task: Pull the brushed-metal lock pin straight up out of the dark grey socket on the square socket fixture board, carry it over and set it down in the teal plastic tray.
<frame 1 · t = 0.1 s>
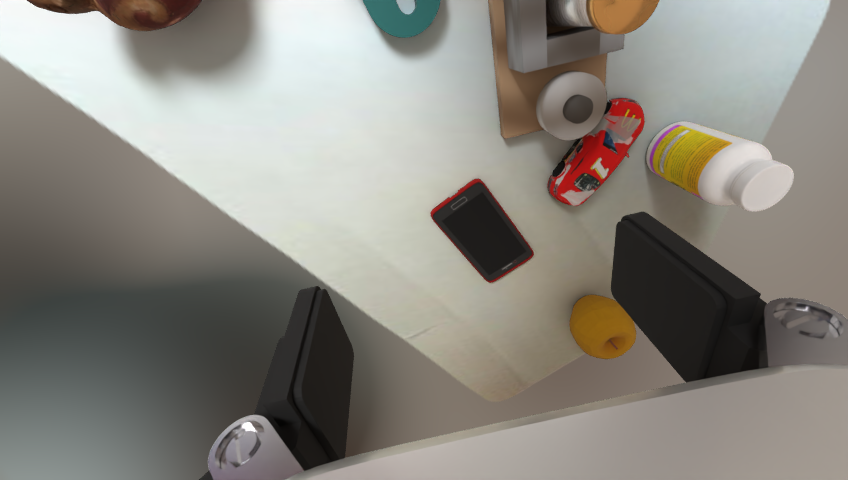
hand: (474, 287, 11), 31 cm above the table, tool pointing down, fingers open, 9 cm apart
race car: (588, 150, 43), on the table
apple: (584, 304, 56), on the table
lock pin: (551, 4, 33), point 1 cm above the table, touching square socket fixture board
supplement bottle: (669, 147, 44), on the table
cell phone: (483, 231, 48), on the table
square socket fixture board: (546, 39, 36), on the table
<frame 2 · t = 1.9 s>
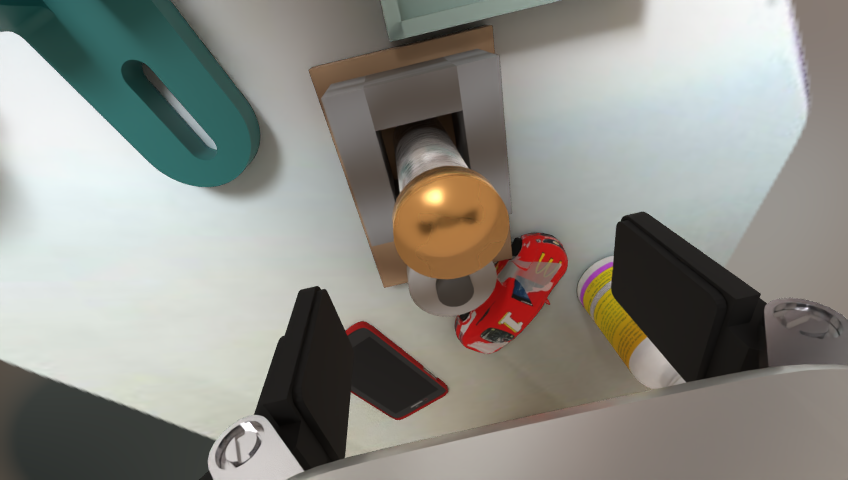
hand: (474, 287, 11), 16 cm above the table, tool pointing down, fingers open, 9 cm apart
race car: (504, 284, 34), on the table
bracket: (133, 38, 21), on the table
lock pin: (419, 139, 24), point 2 cm above the table, touching square socket fixture board
supplement bottle: (607, 278, 35), on the table
cell phone: (382, 369, 39), on the table
square socket fixture board: (425, 172, 27), on the table
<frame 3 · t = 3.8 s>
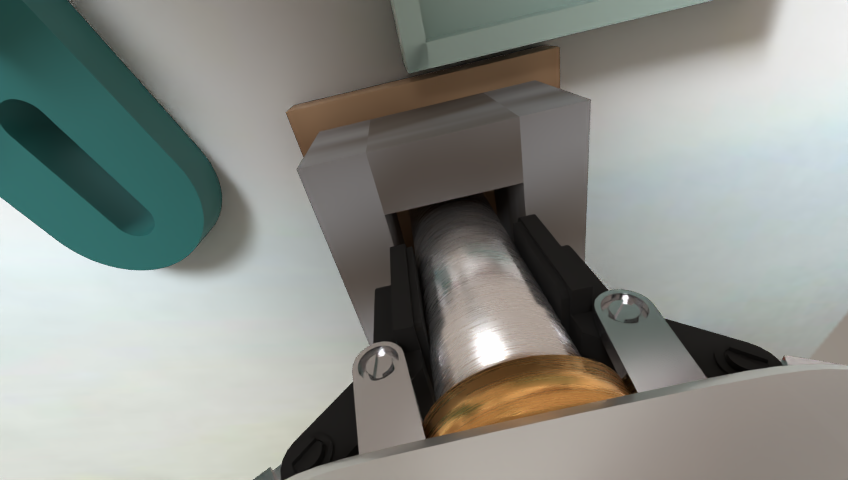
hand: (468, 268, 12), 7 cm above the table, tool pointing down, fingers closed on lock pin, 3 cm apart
bracket: (27, 64, 14), on the table
lock pin: (445, 203, 17), point 2 cm above the table, touching gripper, square socket fixture board
square socket fixture board: (450, 240, 20), on the table
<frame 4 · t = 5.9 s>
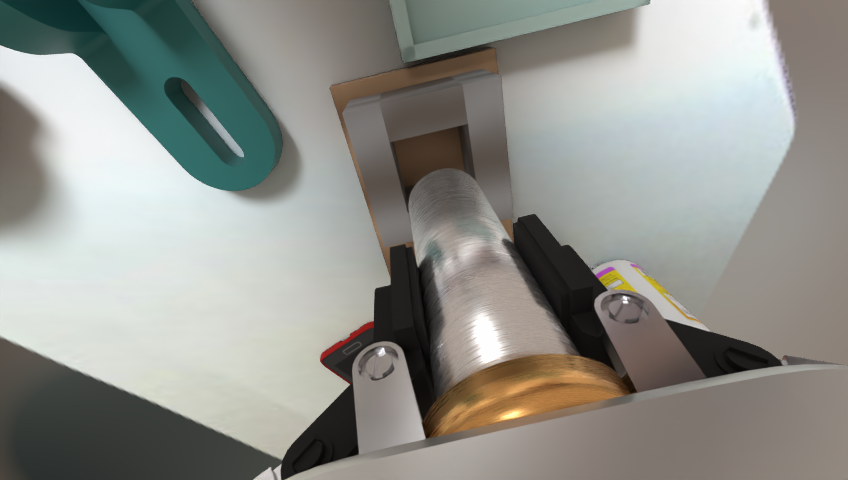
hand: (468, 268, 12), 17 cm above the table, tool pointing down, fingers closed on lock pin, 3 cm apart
bracket: (173, 58, 23), on the table
lock pin: (445, 203, 17), point 12 cm above the table, touching gripper
supplement bottle: (607, 283, 36), on the table
cell phone: (390, 369, 40), on the table
square socket fixture board: (434, 180, 29), on the table
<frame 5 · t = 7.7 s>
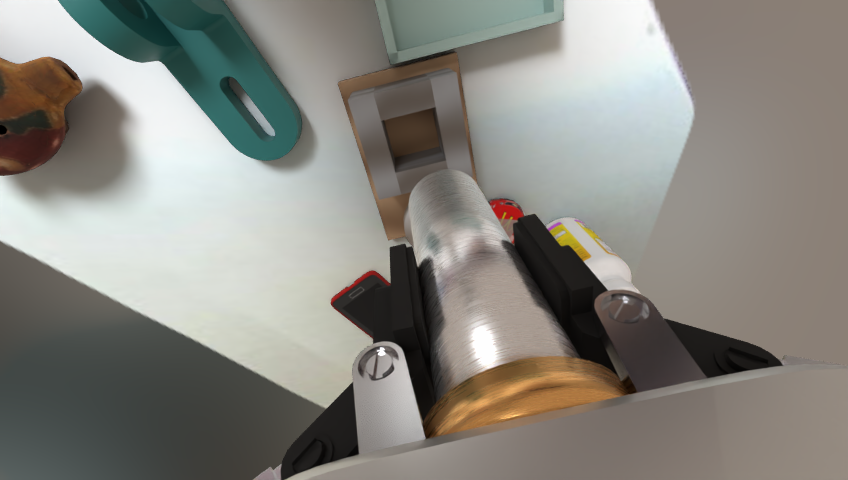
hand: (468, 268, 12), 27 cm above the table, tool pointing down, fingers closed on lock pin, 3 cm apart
green brown ocarina: (28, 103, 32), on the table
race car: (480, 241, 45), on the table
bracket: (223, 62, 32), on the table
lock pin: (445, 204, 17), point 22 cm above the table, touching gripper
supplement bottle: (559, 238, 45), on the table
cell phone: (387, 313, 49), on the table
square socket fixture board: (417, 153, 38), on the table
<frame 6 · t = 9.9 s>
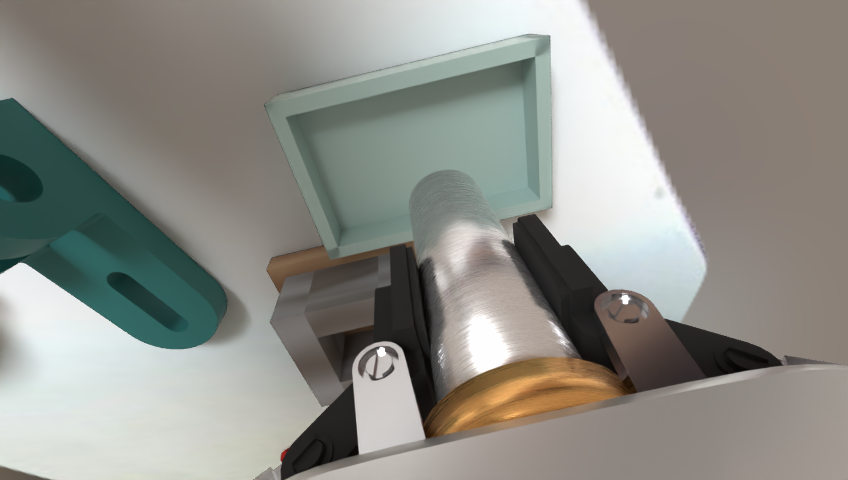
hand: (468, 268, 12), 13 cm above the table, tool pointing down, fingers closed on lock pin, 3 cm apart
tray: (420, 147, 23), on the table
bracket: (117, 241, 25), on the table
lock pin: (445, 204, 17), point 8 cm above the table, touching gripper
square socket fixture board: (375, 321, 31), on the table
when the fingers open (8 cm above the table, at t = 11.4 s): lock pin stays where it is, resting on tray.
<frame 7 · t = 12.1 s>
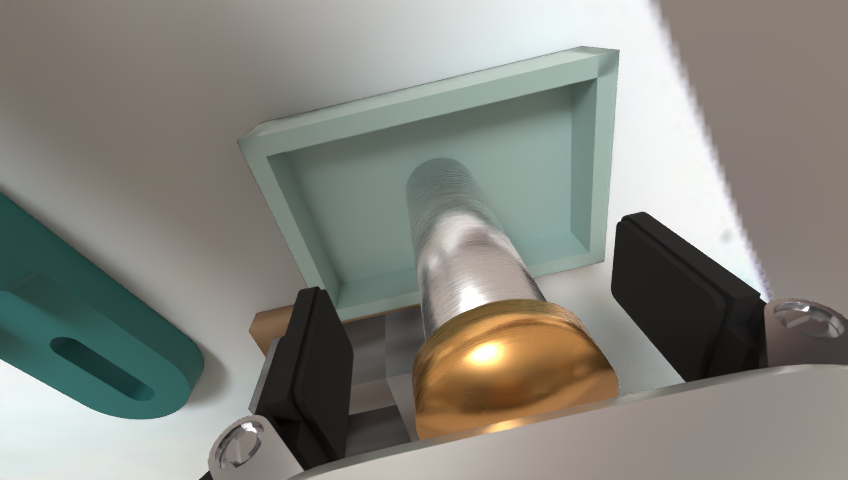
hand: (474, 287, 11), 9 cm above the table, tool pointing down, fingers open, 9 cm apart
tray: (439, 185, 19), on the table
bracket: (67, 295, 21), on the table
lock pin: (440, 191, 18), point 1 cm above the table, touching tray
square socket fixture board: (380, 380, 26), on the table
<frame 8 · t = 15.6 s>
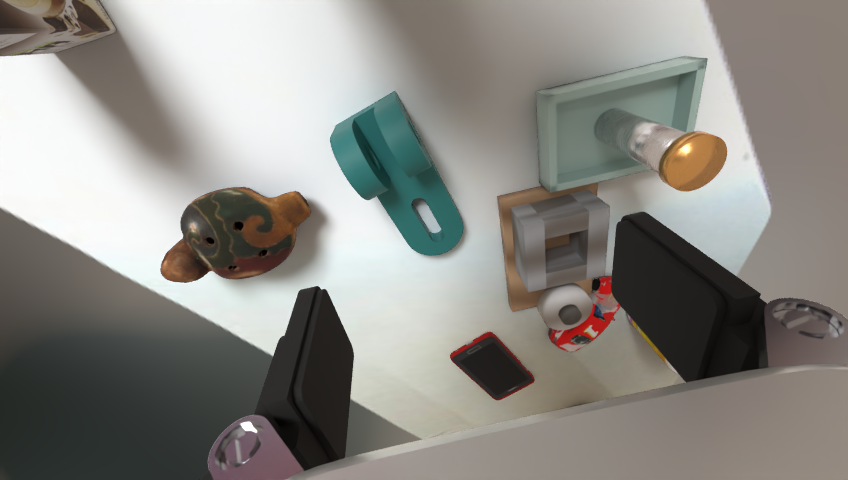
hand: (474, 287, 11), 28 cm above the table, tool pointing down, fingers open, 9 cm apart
tray: (606, 123, 38), on the table
green brown ocarina: (251, 215, 40), on the table
race car: (582, 306, 53), on the table
bracket: (408, 181, 40), on the table
lock pin: (610, 125, 38), point 1 cm above the table, touching tray
cell phone: (492, 364, 57), on the table
square socket fixture board: (545, 246, 46), on the table
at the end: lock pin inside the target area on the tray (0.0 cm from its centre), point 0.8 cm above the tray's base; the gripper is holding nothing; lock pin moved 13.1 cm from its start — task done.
